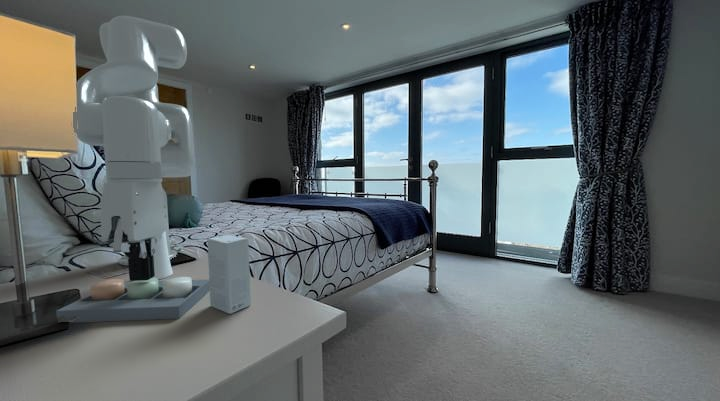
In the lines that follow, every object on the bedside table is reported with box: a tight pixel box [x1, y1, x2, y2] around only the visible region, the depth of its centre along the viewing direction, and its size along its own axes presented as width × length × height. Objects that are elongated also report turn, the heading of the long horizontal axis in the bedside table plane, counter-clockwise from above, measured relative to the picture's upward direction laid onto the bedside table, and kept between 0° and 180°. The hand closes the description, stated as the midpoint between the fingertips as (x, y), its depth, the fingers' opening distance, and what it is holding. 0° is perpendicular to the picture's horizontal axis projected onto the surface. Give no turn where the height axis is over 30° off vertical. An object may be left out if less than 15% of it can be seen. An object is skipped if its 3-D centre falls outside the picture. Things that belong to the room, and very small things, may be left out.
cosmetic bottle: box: [153, 231, 174, 281], centre depth 65 cm, size 6×6×22 cm
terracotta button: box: [89, 278, 125, 301], centre depth 51 cm, size 4×4×2 cm
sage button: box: [127, 278, 159, 300], centre depth 52 cm, size 4×4×2 cm
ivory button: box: [162, 276, 193, 299], centre depth 52 cm, size 4×4×2 cm
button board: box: [55, 279, 210, 324], centre depth 52 cm, size 12×18×2 cm, turn 95°
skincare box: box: [207, 234, 252, 315], centre depth 51 cm, size 6×4×12 cm
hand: (142, 278), depth 51 cm, fingers closed
